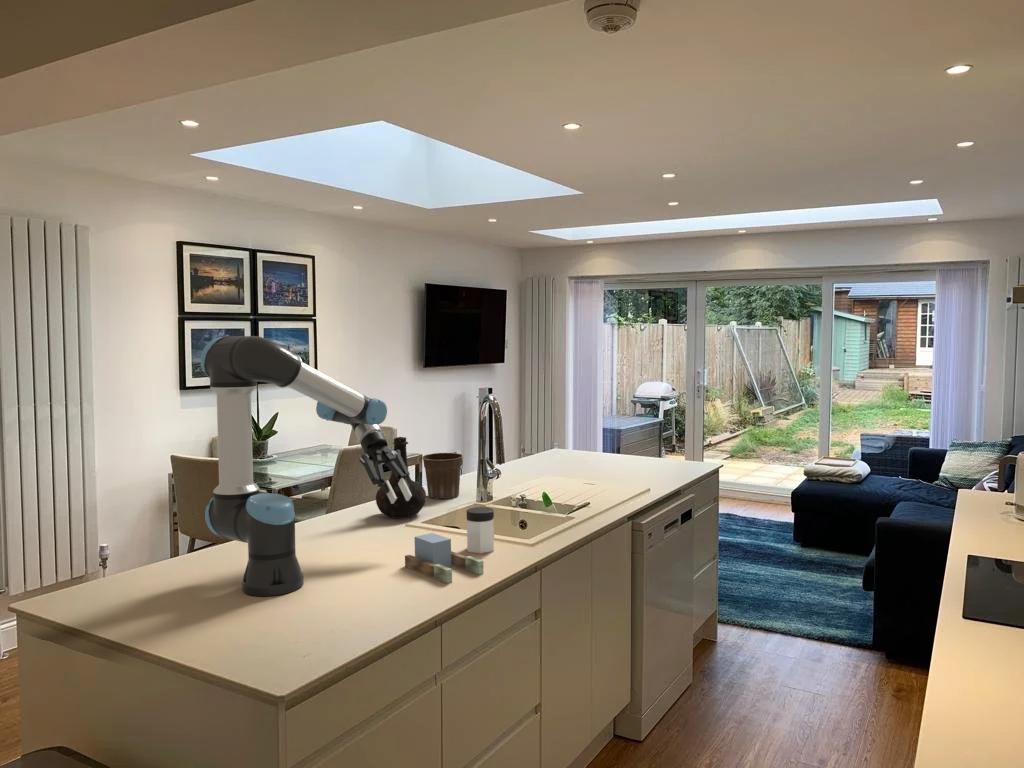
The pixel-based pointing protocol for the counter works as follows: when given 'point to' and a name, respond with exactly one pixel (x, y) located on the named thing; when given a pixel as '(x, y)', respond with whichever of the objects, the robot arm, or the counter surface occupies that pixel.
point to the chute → (442, 571)
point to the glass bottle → (401, 506)
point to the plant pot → (443, 474)
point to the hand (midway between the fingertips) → (401, 499)
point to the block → (433, 549)
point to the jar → (480, 530)
